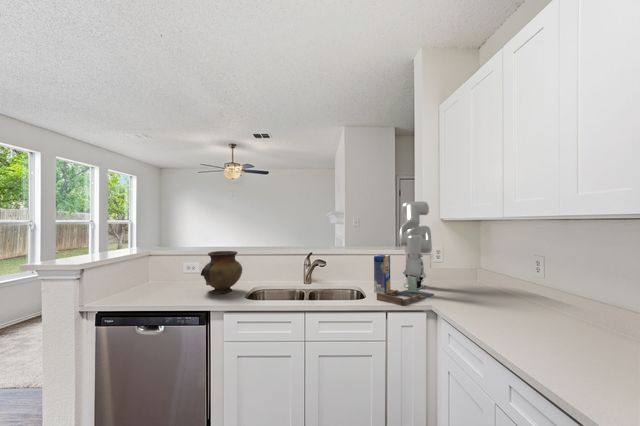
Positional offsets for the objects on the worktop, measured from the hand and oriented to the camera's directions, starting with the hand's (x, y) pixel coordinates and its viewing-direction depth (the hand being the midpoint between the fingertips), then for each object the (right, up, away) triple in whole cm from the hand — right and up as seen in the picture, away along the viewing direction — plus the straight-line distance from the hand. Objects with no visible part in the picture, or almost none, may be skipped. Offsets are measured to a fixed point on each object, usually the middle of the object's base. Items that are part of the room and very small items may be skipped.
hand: (414, 286), depth 181 cm
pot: (-117, -6, +8) cm, 118 cm away
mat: (0, -5, 0) cm, 5 cm away
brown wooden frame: (-12, -4, -11) cm, 17 cm away
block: (0, -2, 0) cm, 2 cm away
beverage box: (-17, -5, +9) cm, 20 cm away
